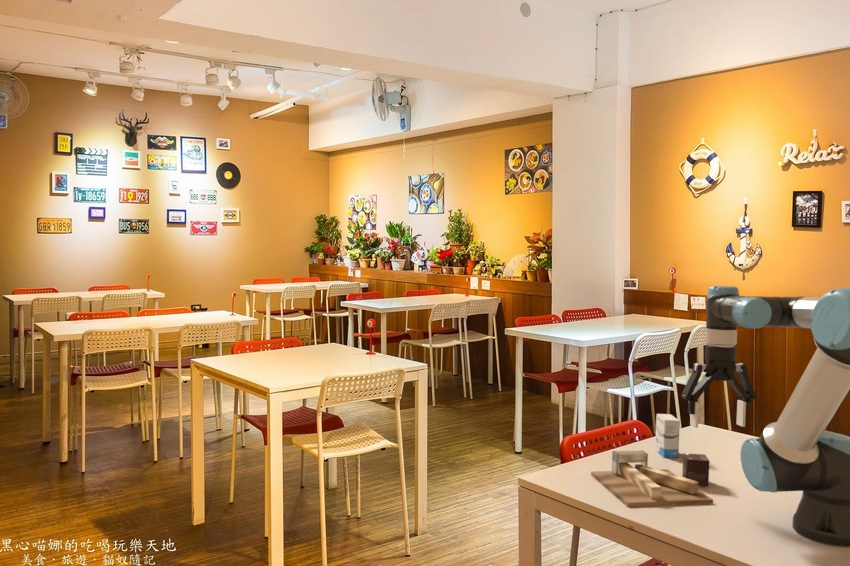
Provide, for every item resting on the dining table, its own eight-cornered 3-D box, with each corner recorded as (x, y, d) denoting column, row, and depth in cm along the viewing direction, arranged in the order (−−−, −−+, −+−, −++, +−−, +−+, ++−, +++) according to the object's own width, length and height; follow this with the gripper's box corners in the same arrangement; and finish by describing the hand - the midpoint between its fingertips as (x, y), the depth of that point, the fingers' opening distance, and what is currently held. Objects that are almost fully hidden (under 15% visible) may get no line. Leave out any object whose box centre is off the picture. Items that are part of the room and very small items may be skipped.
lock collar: (647, 473, 198) (647, 453, 198) (616, 474, 197) (616, 454, 197) (642, 470, 201) (643, 450, 201) (611, 471, 200) (612, 451, 200)
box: (708, 487, 192) (710, 460, 192) (685, 485, 193) (686, 459, 193) (704, 480, 198) (705, 454, 198) (681, 478, 199) (682, 452, 199)
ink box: (678, 458, 218) (680, 420, 217) (663, 457, 218) (664, 420, 217) (669, 449, 227) (671, 413, 226) (654, 449, 227) (655, 413, 226)
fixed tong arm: (660, 498, 180) (661, 487, 180) (651, 499, 179) (651, 487, 179) (624, 471, 201) (624, 460, 201) (616, 471, 201) (616, 461, 200)
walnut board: (713, 503, 180) (713, 499, 180) (627, 506, 176) (627, 502, 176) (667, 472, 204) (667, 469, 204) (591, 475, 200) (591, 471, 200)
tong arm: (632, 474, 197) (633, 465, 197) (638, 473, 199) (638, 463, 198) (692, 493, 183) (693, 483, 183) (697, 492, 184) (698, 481, 184)
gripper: (755, 342, 190) (751, 421, 191) (669, 343, 186) (666, 423, 187) (773, 346, 182) (769, 428, 184) (684, 347, 179) (680, 430, 180)
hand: (717, 426), depth 185 cm, fingers open, 12 cm apart
